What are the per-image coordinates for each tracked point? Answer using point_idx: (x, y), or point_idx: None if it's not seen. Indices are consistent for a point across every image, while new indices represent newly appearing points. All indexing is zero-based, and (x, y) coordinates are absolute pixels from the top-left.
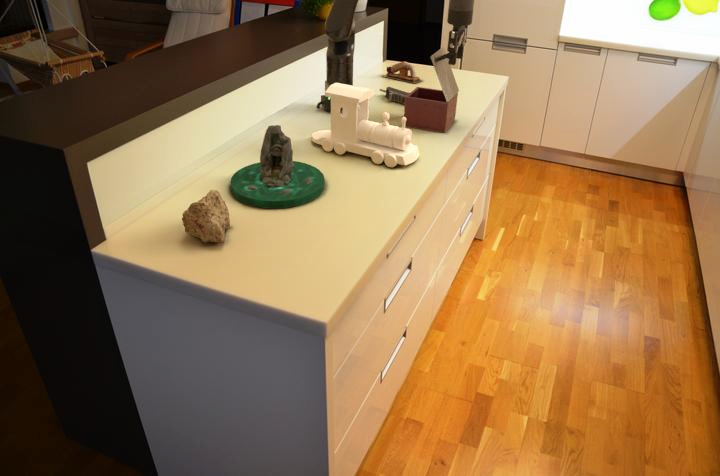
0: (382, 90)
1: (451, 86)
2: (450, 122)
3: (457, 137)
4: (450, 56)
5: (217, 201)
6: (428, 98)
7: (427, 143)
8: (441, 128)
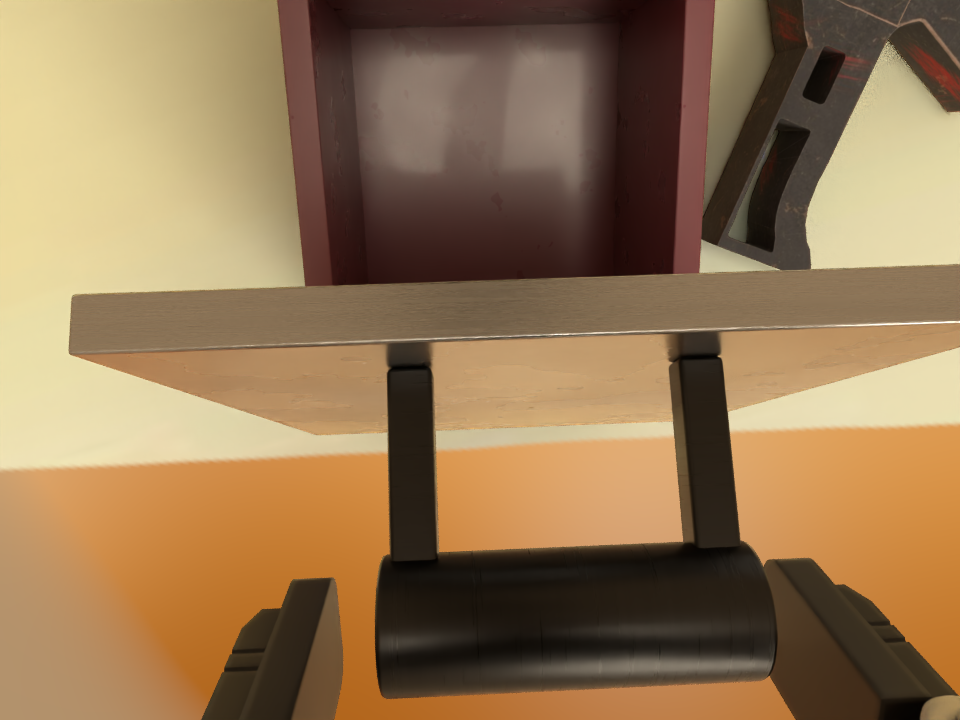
0: None
1: (534, 418)
2: None
3: (321, 438)
4: (211, 712)
5: None
6: (653, 109)
7: None
8: None
